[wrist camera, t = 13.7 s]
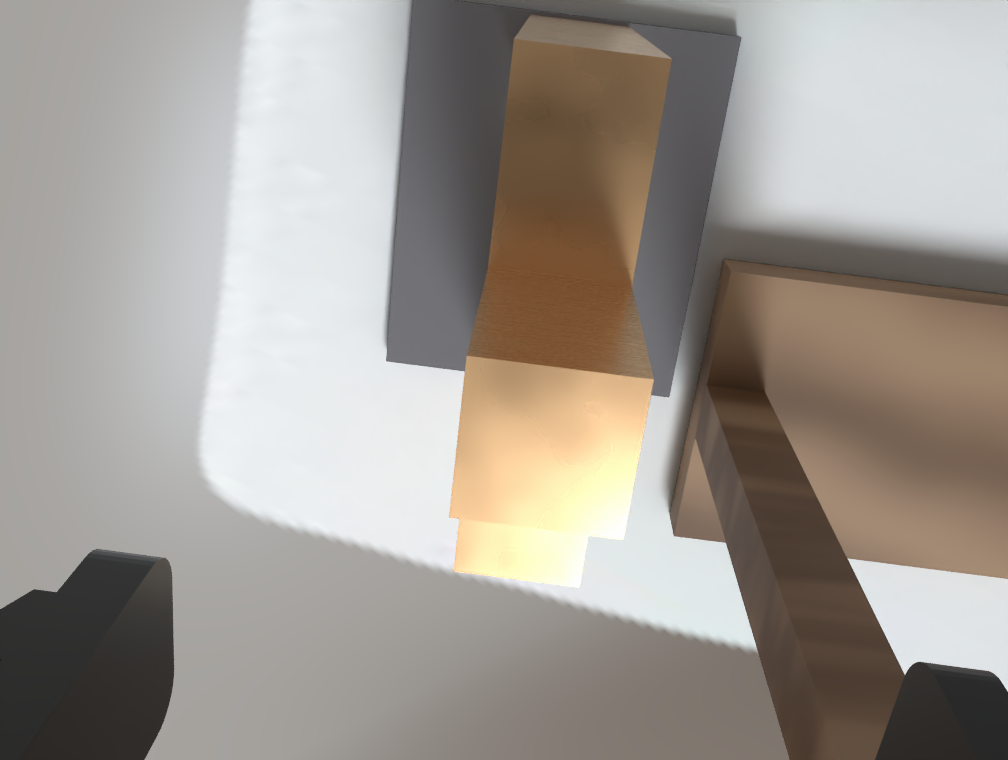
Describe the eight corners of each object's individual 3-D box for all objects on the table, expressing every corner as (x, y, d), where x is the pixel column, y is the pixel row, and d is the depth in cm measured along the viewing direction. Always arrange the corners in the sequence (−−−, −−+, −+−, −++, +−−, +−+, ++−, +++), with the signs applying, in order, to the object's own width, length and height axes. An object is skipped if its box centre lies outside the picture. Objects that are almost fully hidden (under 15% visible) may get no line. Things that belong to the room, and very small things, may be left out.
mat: (415, -5, 30) (413, -5, 29) (737, 35, 30) (741, 37, 29) (389, 355, 34) (386, 361, 34) (667, 390, 34) (668, 397, 34)
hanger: (530, 14, 29) (498, 60, 14) (629, 26, 29) (710, 87, 14) (487, 376, 34) (426, 721, 18) (572, 387, 34) (584, 742, 18)
